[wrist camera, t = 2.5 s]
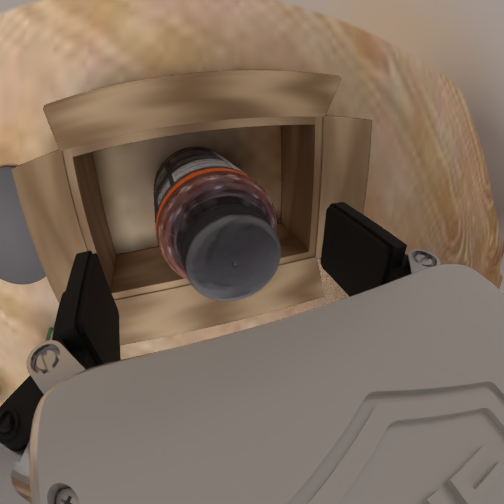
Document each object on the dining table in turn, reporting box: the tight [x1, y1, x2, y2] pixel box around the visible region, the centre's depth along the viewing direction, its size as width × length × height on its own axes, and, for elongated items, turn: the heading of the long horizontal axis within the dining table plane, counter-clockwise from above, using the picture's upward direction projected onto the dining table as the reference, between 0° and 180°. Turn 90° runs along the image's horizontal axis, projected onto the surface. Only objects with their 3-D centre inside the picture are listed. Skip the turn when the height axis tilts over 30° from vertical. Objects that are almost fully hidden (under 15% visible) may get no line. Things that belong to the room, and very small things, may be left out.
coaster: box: [0, 166, 46, 284], centre depth 16 cm, size 10×10×1 cm
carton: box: [12, 70, 372, 345], centre depth 18 cm, size 20×15×7 cm
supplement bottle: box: [154, 147, 281, 302], centre depth 16 cm, size 6×6×11 cm
